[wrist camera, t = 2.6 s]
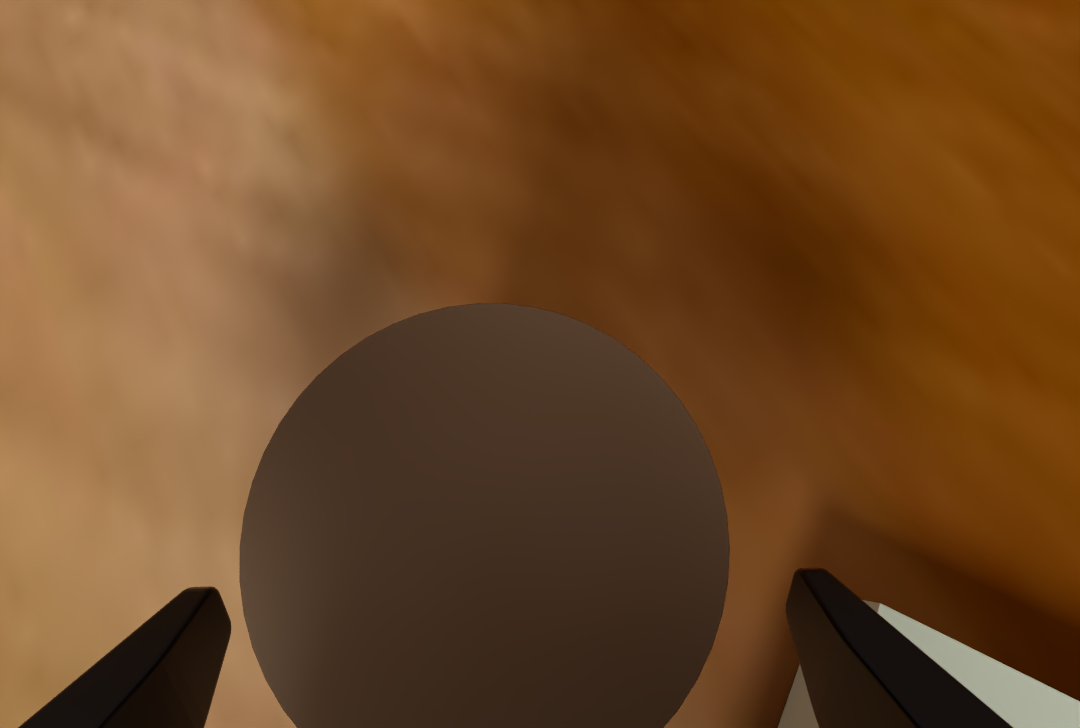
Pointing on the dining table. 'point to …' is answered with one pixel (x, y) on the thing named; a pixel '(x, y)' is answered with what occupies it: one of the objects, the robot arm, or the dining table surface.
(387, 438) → the brown round cylinder
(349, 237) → the dining table surface
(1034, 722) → the tray
